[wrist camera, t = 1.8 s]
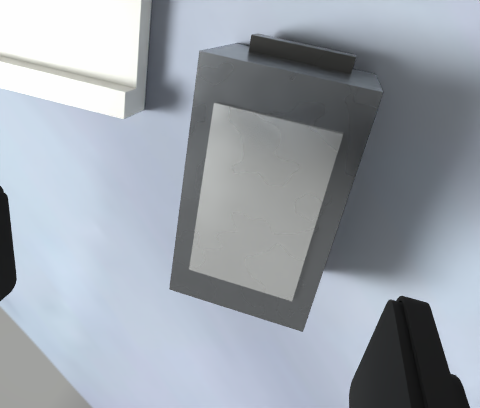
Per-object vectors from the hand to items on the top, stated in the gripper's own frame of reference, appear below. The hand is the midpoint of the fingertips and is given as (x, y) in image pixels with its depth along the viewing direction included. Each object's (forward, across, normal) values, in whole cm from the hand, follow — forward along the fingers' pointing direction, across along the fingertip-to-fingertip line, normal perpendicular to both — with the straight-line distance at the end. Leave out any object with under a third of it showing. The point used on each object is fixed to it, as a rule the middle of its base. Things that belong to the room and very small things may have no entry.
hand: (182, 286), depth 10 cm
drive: (+11, -1, +1) cm, 11 cm away
